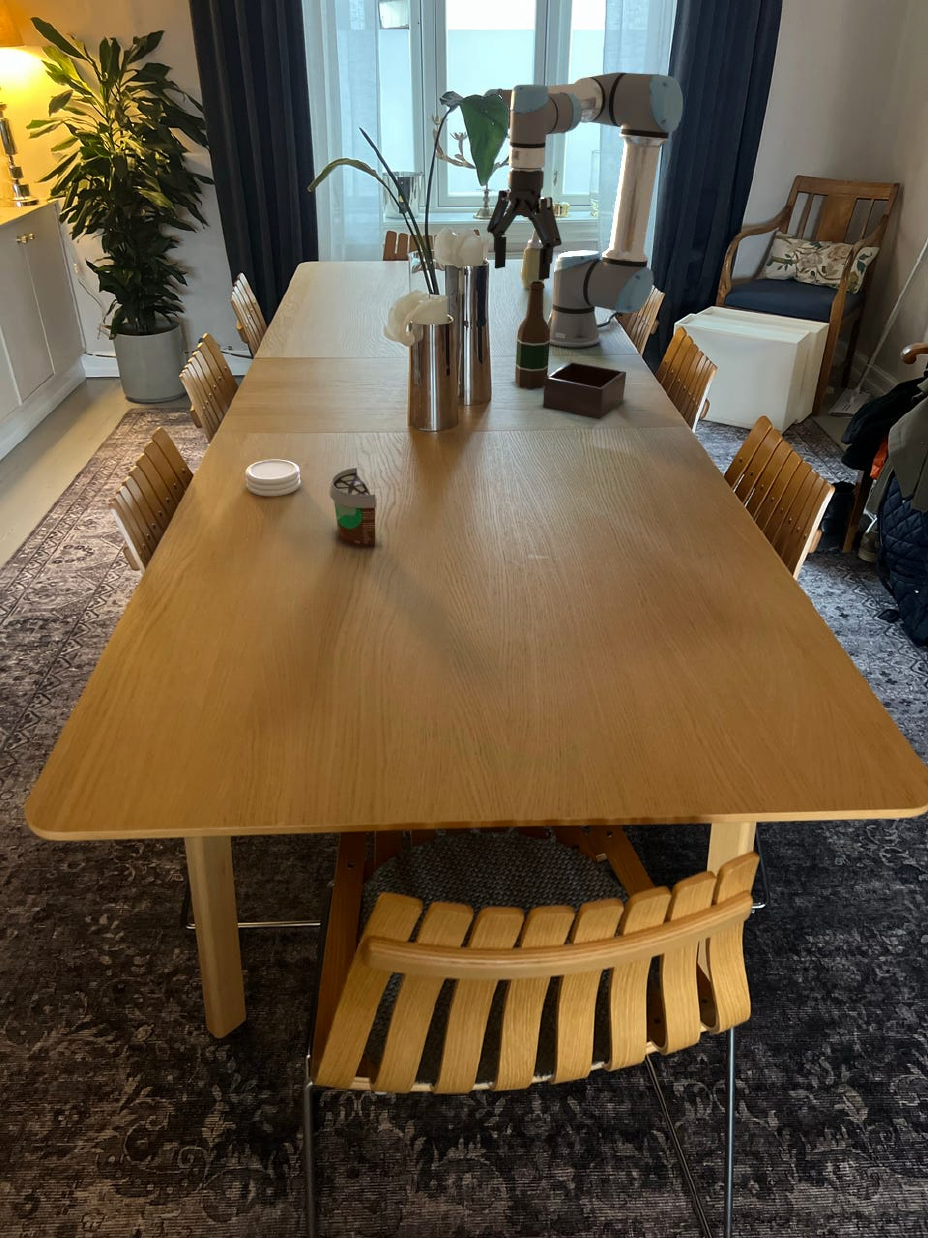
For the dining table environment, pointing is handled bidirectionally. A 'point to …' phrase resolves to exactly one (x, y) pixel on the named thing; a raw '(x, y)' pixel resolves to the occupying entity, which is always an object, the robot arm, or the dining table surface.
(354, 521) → the food container
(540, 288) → the beer bottle
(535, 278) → the squeeze bottle
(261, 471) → the coaster
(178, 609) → the dining table surface
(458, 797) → the dining table surface
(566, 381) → the box
